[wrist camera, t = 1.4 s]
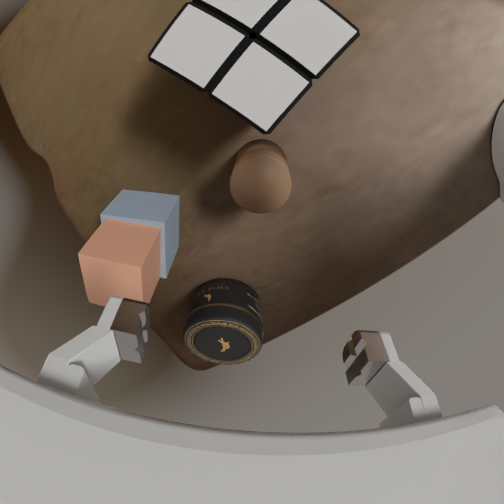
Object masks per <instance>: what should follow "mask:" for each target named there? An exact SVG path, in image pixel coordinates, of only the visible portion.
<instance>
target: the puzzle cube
mask: <svg viewBox="0 0 504 504" xmlns="http://www.w3.org/2000/svg"><path fill="white" fill-rule="evenodd" d="M359 36H360V34H359V29H358V28H357V27H356V26H355V25H353V24H352V23H351V22H350V21H349V20H348V19H346V18H345V17H344V16H343V15H341V14H340V13H339V12H338V11H336V10H335V9H334V8H333V7H331V6H330V5H329V4H327V3H326V2H325V1H323V0H193V1H192V2H188V3H185V5H184V6H183V7H182V8H181V10H180V11H179V12H178V13H177V15H176V16H175V17H174V19H173V20H172V21H171V23H170V24H169V25H168V27H167V28H166V29H165V31H164V32H163V34H162V35H161V36H160V38H159V39H158V41H157V42H156V44H155V45H154V47H153V48H152V50H151V51H150V53H149V54H148V58H149V61H150V62H152V63H154V64H156V65H158V66H159V67H161V68H163V69H165V70H166V71H168V72H170V73H172V74H173V75H175V76H177V77H178V78H180V79H182V80H183V81H185V82H187V83H188V84H190V85H192V86H193V87H195V88H196V89H198V90H200V91H201V92H204V91H208V92H209V97H210V98H211V99H213V100H214V101H216V102H217V103H219V104H220V105H222V106H223V107H225V108H226V109H228V110H229V111H231V112H232V113H234V114H235V115H237V116H238V117H240V118H241V119H243V120H244V121H245V122H247V123H248V124H250V125H251V126H252V127H254V128H255V129H257V130H258V131H259V132H261V133H262V134H270V133H271V132H272V131H273V130H274V129H275V127H276V126H277V125H278V124H279V123H280V122H281V120H282V119H283V118H284V117H285V116H286V115H287V113H288V112H289V111H290V110H291V109H292V108H293V107H294V105H295V104H296V103H297V102H298V101H299V100H300V99H301V97H302V96H303V95H304V94H305V93H306V92H307V91H308V90H309V89H310V87H311V86H312V79H319V78H320V76H321V75H322V74H323V73H324V72H325V71H326V70H327V69H328V68H329V67H330V66H331V65H332V64H333V62H334V61H335V60H336V59H337V58H338V57H339V56H340V55H341V54H342V53H343V52H344V51H345V50H346V49H347V48H348V47H349V46H350V45H351V44H352V43H353V42H354V41H355V40H356V39H357V38H358V37H359Z"/></svg>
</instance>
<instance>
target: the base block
mask: <svg viewBox="0 0 504 504" xmlns="http://www.w3.org/2000/svg"><path fill="white" fill-rule="evenodd" d="M179 204H180V196H179V195H170V194H161V193H152V192H143V191H133V190H122V191H121V192H120V193H119V194H118V195H117V196H116V197H115V198H114V199H113V201H112V202H111V203H110V204H109V205H108V206H107V207H106V208H105V209H104V211H103V212H102V213H101V214H100V217H101V224H102V222H103V221H104V220H105V219H106V218H108V219H114V220H120V221H125V222H131V223H137V224H142V225H148V226H153V227H159V228H161V275H160V278H167V275H168V273H169V270H170V268H171V265H172V263H173V260H174V257H175V255H176V252H177V250H178V247H179Z"/></svg>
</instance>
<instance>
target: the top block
mask: <svg viewBox="0 0 504 504" xmlns="http://www.w3.org/2000/svg"><path fill="white" fill-rule="evenodd" d="M78 256H79V261H80V266H81V271H82V276H83V280H84V285H85V288H86V293H87V297H88V301H89V302H90V303H93V304H97V305H101V306H106V304H107V302H108V300H109V298H110V297H111V296H112V295H115V296H119V297H123V298H128V299H133V300H137V301H141V302H146V303H150V300H151V298H152V295H153V293H154V290H155V288H156V285H157V283H158V280H159V278H160V275H161V228H159V227H153V226H148V225H142V224H137V223H131V222H125V221H120V220H114V219H108V218H106V219H105V220H104V221H103V222H102V224H101V225H100V226H99V227H98V229H97V230H96V231H95V232H94V234H93V235H92V236H91V237H90V239H89V240H88V241H87V243H86V244H85V245H84V247H83V248H82V249H81V250H80V252H79V253H78Z"/></svg>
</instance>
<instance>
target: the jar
mask: <svg viewBox="0 0 504 504" xmlns="http://www.w3.org/2000/svg"><path fill="white" fill-rule="evenodd" d="M262 324H263V311H262V305H261V302H260V299H259V297H258V295H257V293H256V292H255V291H254V290H253V289H252V288H251V287H250V286H248V285H246V284H245V283H243V282H241V281H238V280H234V279H227V278H222V279H215V280H212V281H209V282H207V283H205V284H203V285H202V286H201V287H200V288H199V289H198V290H197V292H196V293H195V295H194V296H193V298H192V300H191V304H190V308H189V312H188V316H187V318H186V321H185V326H184V331H183V339H184V343H185V345H186V346H187V348H188V349H189V350H190V351H191V352H192V353H193V354H194V355H196V356H197V357H199V358H201V359H203V360H206V361H208V362H212V363H216V364H225V365H227V364H228V365H229V364H230V365H231V364H239V363H243V362H246V361H248V360H250V359H252V358H254V357H255V356H256V355H257V354H258V353H259V351H260V349H261V347H262V341H263V326H262Z"/></svg>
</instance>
